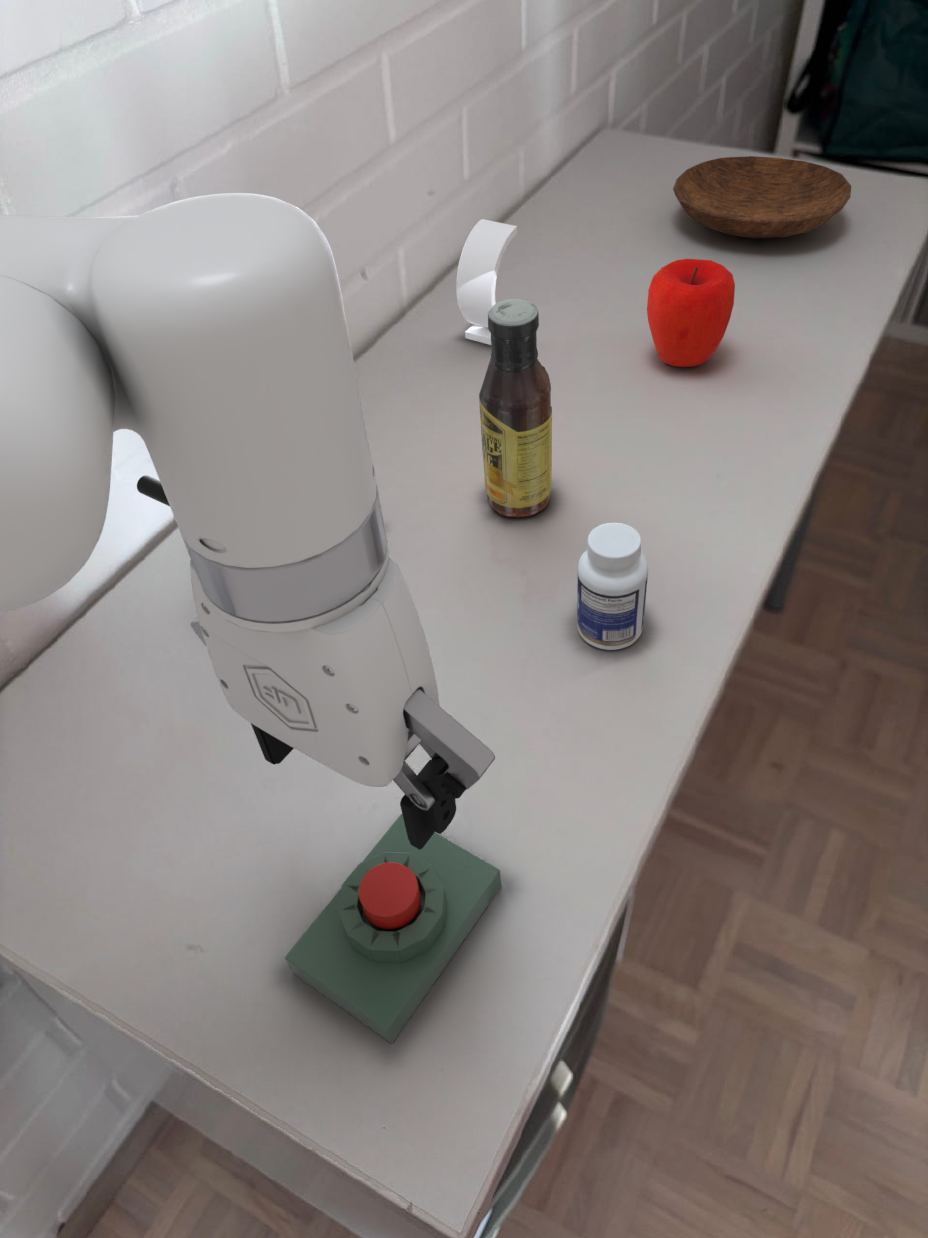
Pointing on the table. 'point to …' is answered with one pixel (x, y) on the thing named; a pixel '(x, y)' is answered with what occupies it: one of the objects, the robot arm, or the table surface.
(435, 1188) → the table surface
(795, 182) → the bowl
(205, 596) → the robot arm
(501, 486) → the sauce bottle
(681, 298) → the apple
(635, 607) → the pill bottle
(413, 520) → the table surface
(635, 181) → the table surface
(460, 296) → the headphone stand
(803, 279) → the table surface
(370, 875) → the button
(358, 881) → the button box
